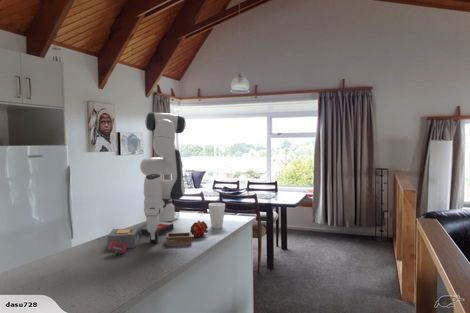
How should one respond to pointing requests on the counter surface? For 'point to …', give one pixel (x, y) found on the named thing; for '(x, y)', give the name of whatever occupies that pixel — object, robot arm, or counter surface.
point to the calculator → (159, 228)
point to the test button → (123, 231)
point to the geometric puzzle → (117, 246)
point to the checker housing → (125, 237)
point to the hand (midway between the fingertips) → (153, 236)
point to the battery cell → (155, 237)
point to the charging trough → (178, 239)
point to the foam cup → (216, 214)
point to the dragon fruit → (199, 229)
